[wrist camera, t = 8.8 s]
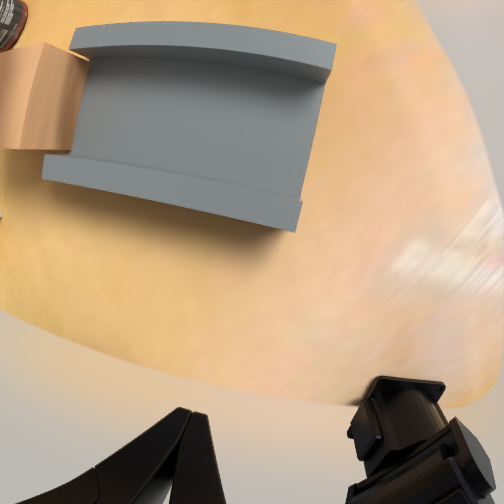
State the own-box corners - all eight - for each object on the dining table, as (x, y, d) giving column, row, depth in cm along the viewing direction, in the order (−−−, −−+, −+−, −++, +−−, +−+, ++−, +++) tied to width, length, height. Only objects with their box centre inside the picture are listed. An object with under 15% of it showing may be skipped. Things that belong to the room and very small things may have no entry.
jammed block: (91, 63, 16) (44, 42, 11) (71, 150, 17) (19, 149, 12) (33, 68, 16) (-13, 56, 11) (16, 144, 17) (-32, 145, 13)
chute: (327, 65, 16) (336, 44, 12) (292, 221, 18) (294, 232, 15) (103, 43, 16) (76, 28, 13) (73, 175, 19) (41, 178, 15)
